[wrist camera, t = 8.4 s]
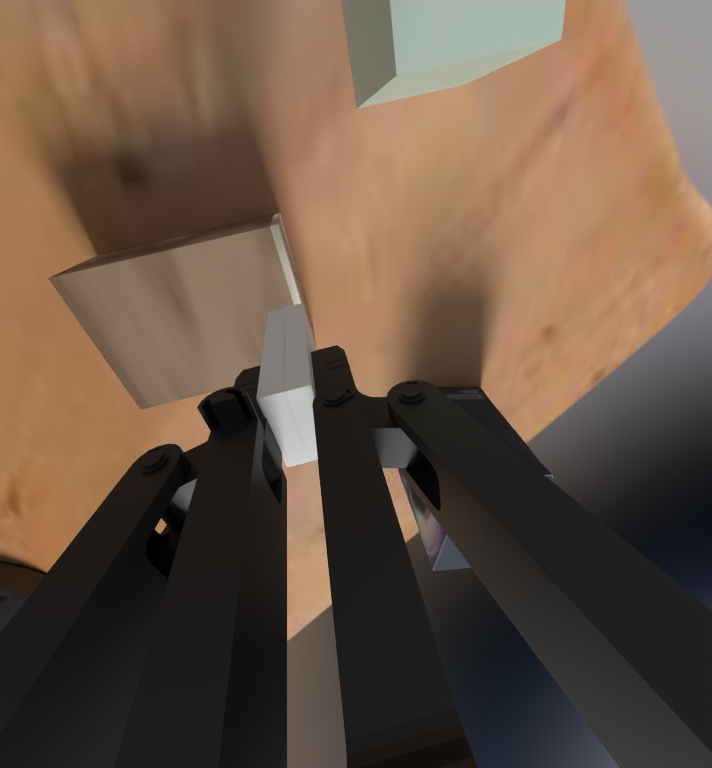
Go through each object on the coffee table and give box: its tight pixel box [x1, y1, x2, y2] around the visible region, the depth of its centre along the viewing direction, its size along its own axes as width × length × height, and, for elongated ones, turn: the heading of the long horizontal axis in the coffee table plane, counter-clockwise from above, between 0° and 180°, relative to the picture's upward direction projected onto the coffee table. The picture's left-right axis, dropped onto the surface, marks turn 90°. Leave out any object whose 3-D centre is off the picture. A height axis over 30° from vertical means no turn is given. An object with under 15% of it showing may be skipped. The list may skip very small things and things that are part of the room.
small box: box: [399, 387, 553, 571], centre depth 28 cm, size 11×6×10 cm, turn 175°
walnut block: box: [49, 213, 317, 409], centre depth 20 cm, size 5×8×11 cm
